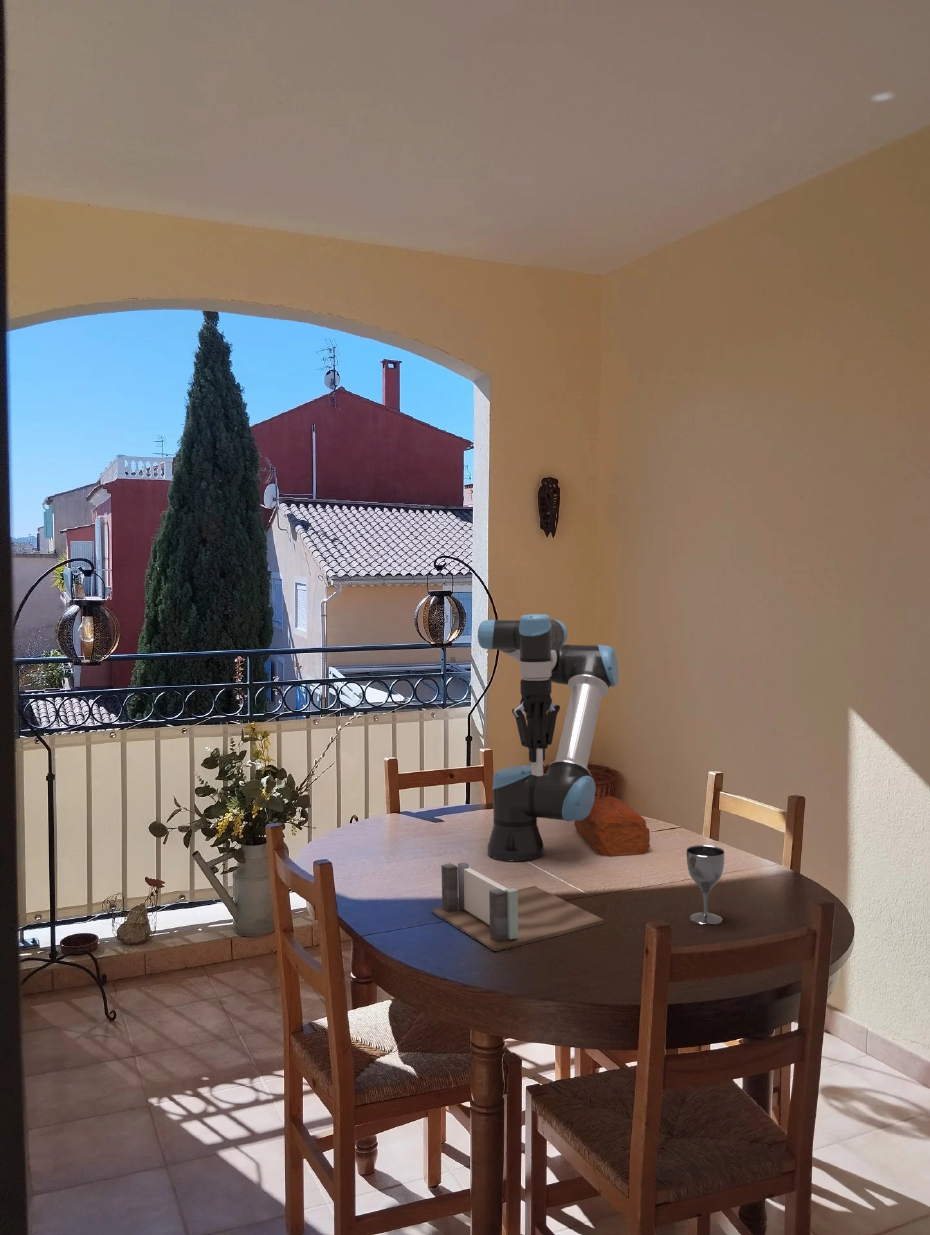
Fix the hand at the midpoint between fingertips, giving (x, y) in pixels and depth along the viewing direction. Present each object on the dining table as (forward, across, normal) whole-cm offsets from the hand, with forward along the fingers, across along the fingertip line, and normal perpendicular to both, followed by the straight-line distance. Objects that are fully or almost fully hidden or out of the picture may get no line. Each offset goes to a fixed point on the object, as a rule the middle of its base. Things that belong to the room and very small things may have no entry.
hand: (537, 774), depth 231 cm
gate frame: (+26, +18, +17) cm, 36 cm away
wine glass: (+27, -16, +40) cm, 51 cm away
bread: (+27, -36, -16) cm, 48 cm away
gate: (+25, +26, +18) cm, 41 cm away
